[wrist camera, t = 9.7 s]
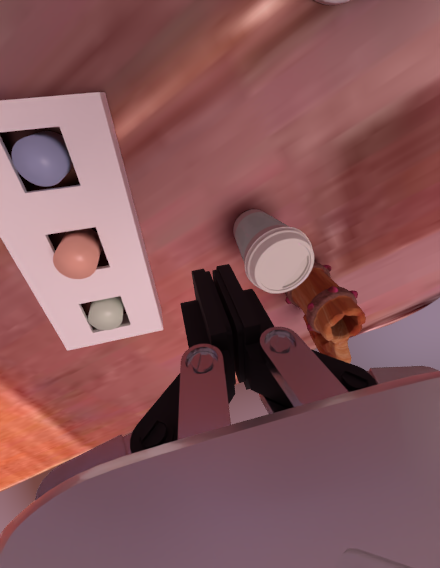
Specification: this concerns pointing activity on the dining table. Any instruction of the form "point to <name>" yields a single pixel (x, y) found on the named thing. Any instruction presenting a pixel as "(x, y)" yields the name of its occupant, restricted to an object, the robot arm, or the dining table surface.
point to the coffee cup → (272, 252)
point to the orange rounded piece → (78, 253)
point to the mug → (328, 312)
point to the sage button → (106, 313)
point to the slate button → (42, 158)
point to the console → (78, 220)
